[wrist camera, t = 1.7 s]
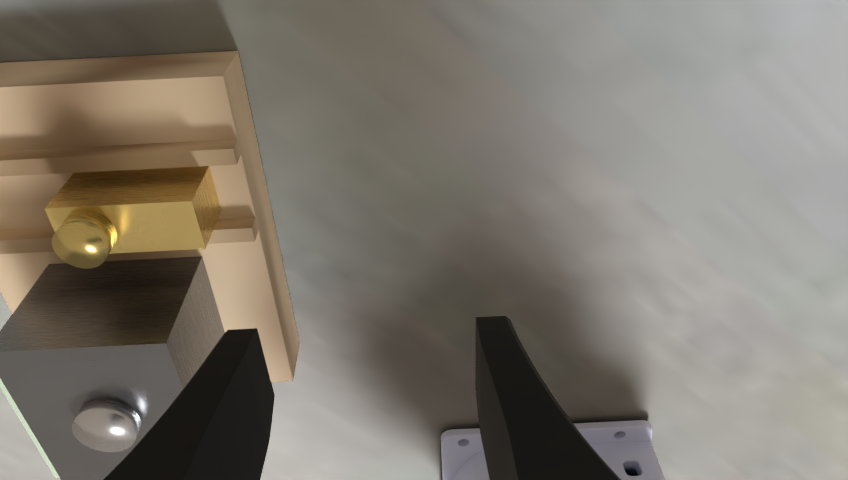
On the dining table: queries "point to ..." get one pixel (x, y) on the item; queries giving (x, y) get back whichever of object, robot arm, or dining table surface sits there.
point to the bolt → (132, 213)
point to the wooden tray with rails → (145, 149)
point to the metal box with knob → (106, 355)
